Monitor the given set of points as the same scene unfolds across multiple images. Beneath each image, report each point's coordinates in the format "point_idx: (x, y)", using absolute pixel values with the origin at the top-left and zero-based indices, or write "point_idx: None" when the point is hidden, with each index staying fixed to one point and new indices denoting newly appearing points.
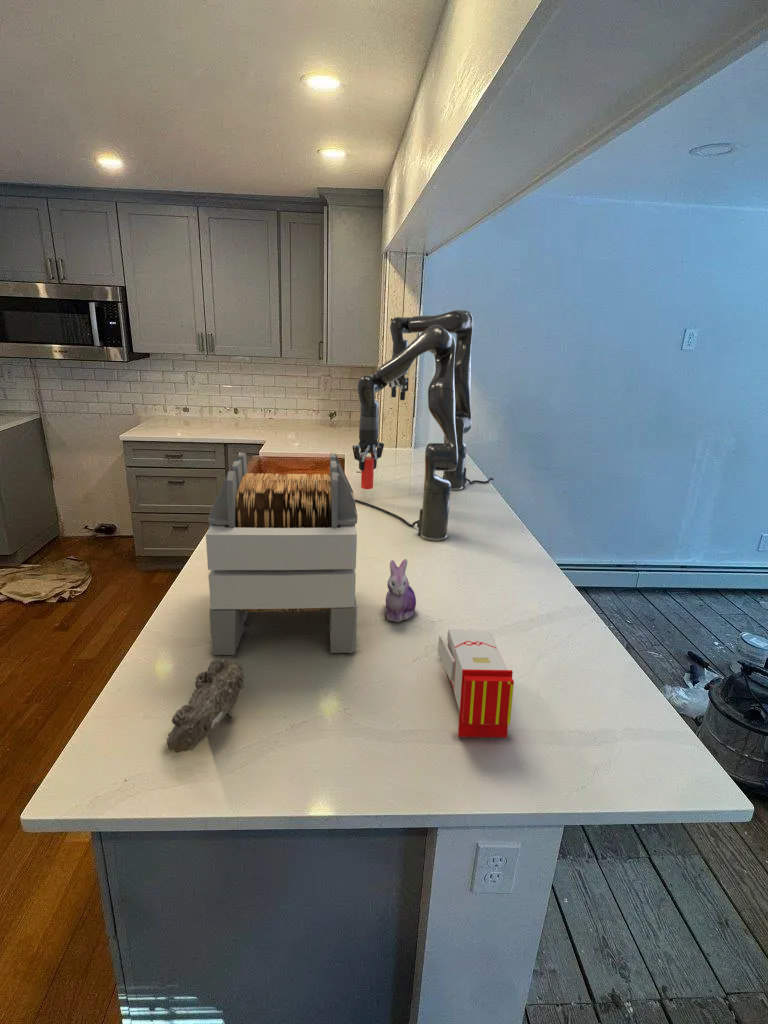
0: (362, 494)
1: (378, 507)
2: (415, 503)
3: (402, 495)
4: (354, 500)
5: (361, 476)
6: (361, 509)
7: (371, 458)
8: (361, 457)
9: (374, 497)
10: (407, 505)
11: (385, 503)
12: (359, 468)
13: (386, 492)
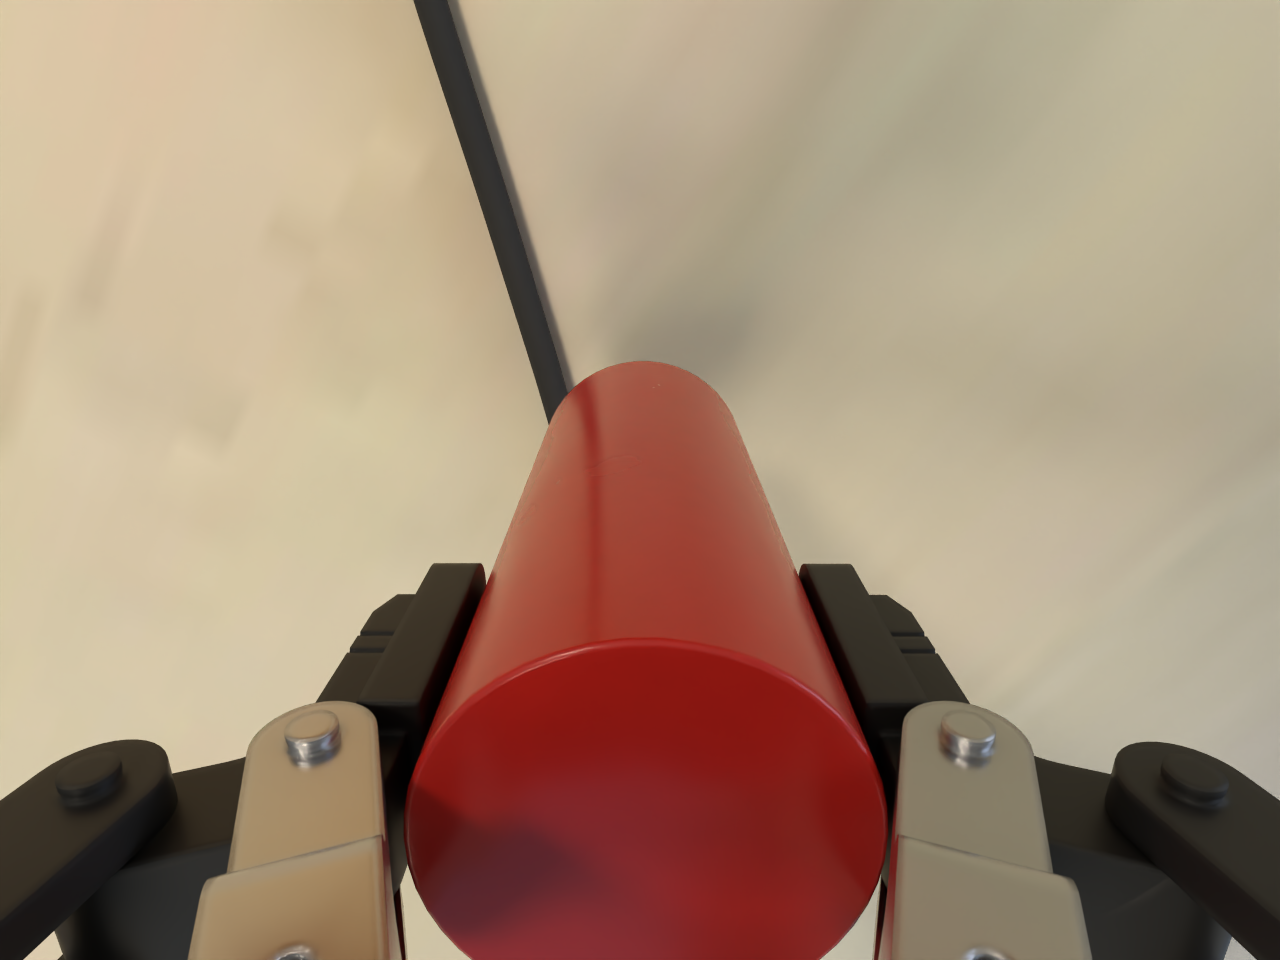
0: (804, 59)
1: None
2: (1094, 669)
3: (1220, 385)
4: (512, 303)
5: (525, 488)
6: (460, 551)
7: (713, 949)
8: (359, 822)
9: (860, 270)
10: (974, 677)
11: (819, 521)
12: (391, 615)
13: (1160, 164)
